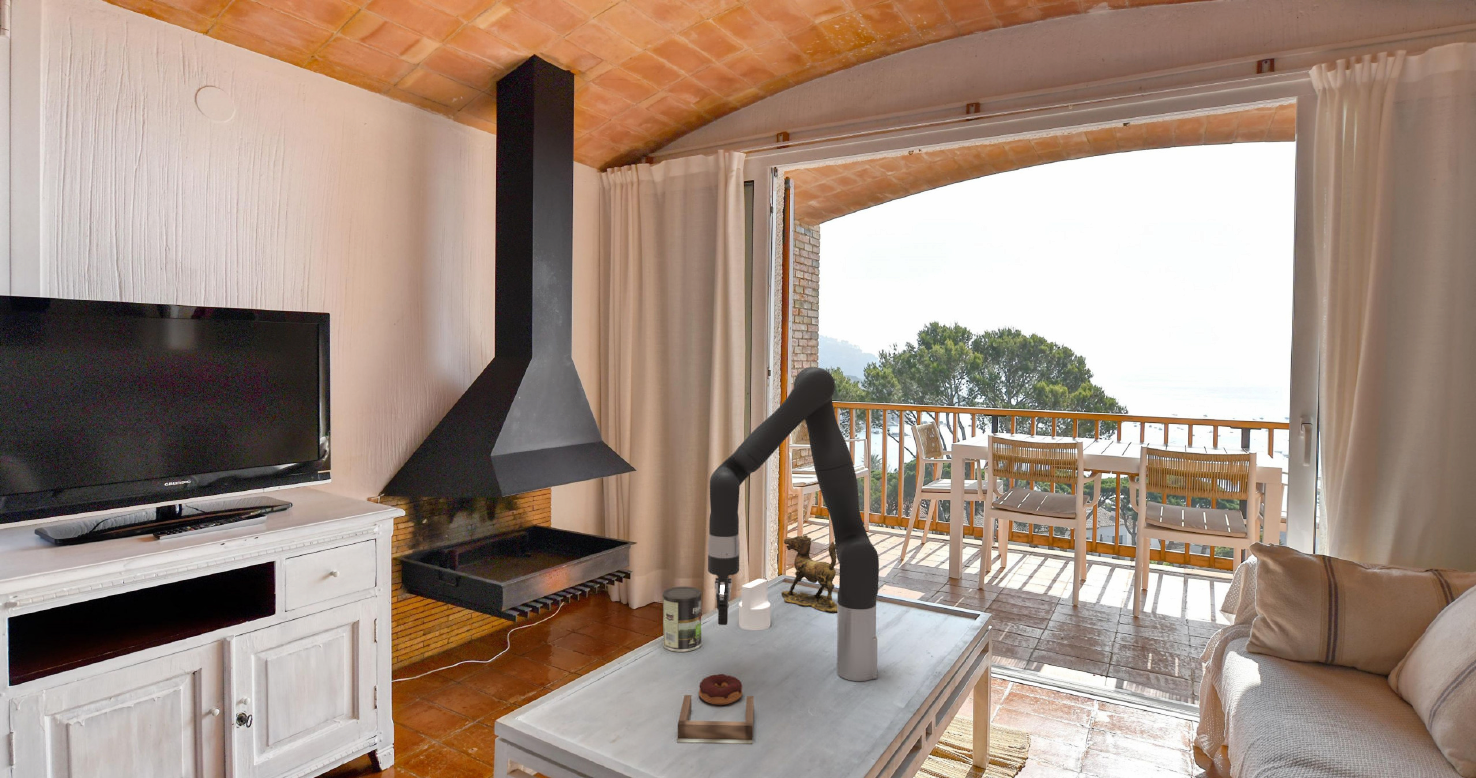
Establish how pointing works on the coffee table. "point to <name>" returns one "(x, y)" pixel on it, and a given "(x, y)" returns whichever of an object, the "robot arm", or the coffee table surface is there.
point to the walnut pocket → (715, 727)
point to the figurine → (811, 576)
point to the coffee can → (682, 619)
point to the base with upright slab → (754, 606)
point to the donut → (720, 689)
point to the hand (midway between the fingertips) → (722, 623)
